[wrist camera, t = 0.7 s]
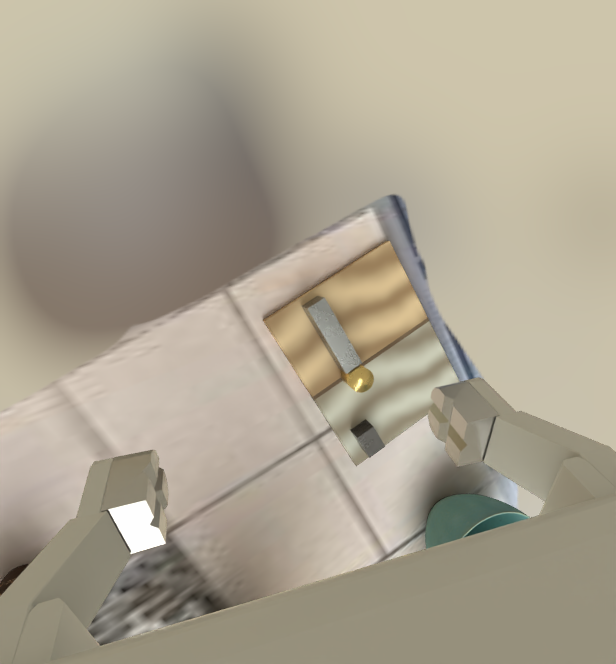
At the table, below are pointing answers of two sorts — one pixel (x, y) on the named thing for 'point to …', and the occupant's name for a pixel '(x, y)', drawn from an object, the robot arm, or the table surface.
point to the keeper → (367, 438)
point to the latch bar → (338, 345)
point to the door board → (367, 349)
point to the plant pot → (467, 517)
